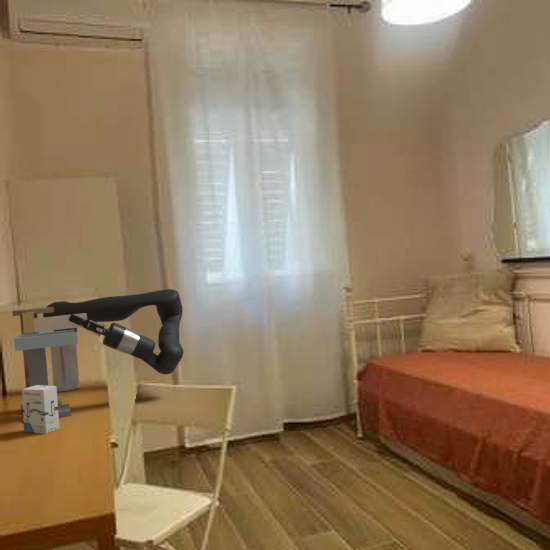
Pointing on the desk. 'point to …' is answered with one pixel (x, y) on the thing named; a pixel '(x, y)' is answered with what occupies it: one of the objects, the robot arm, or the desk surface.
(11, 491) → the desk surface
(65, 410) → the frame
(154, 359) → the robot arm
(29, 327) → the pin
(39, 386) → the ink box
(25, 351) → the walnut stand
